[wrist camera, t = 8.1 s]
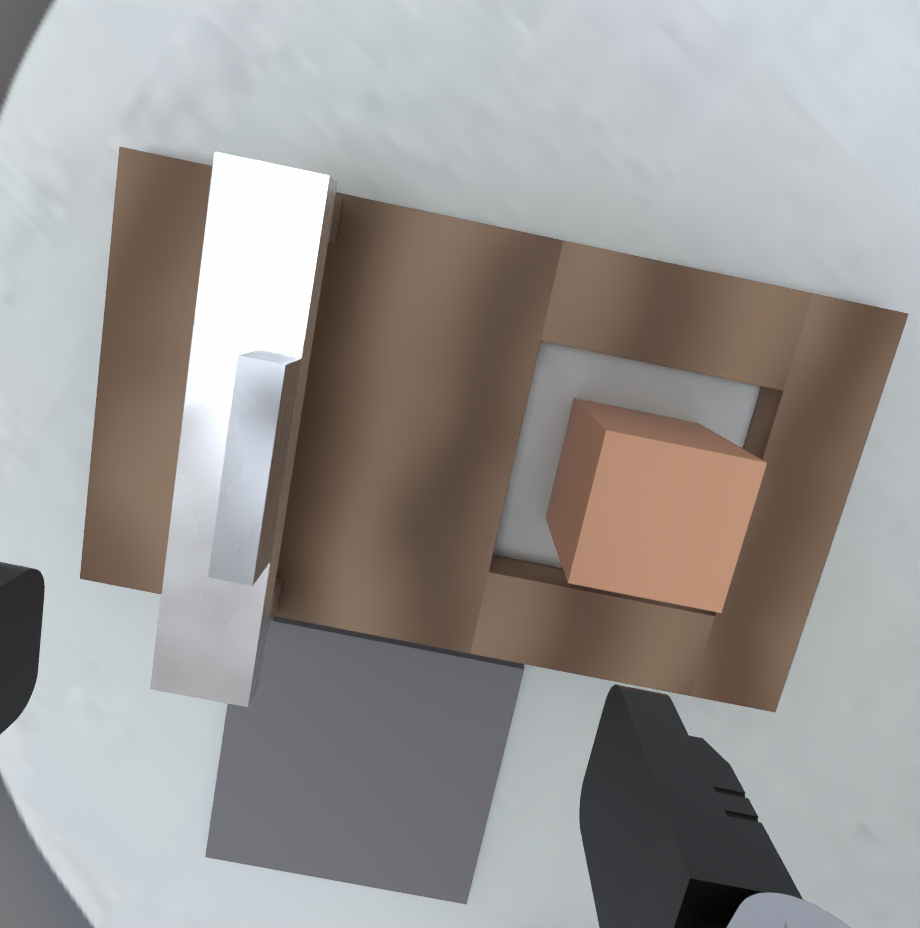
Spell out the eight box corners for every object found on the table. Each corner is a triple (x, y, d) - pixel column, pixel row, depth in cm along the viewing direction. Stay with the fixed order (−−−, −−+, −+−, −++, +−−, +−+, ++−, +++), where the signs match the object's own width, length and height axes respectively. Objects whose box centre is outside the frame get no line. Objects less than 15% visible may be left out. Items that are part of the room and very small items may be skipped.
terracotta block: (697, 423, 29) (766, 462, 22) (664, 541, 30) (721, 613, 24) (574, 397, 29) (606, 430, 22) (545, 517, 30) (568, 582, 23)
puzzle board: (878, 312, 28) (908, 313, 26) (756, 686, 32) (775, 712, 30) (144, 157, 27) (119, 146, 25) (104, 560, 31) (79, 578, 29)
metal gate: (363, 204, 25) (315, 163, 17) (295, 617, 29) (229, 741, 21) (277, 185, 25) (188, 137, 17) (219, 602, 29) (123, 722, 21)
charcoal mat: (522, 663, 32) (523, 669, 31) (466, 895, 34) (466, 904, 34) (244, 609, 31) (240, 614, 31) (208, 848, 34) (205, 856, 33)
